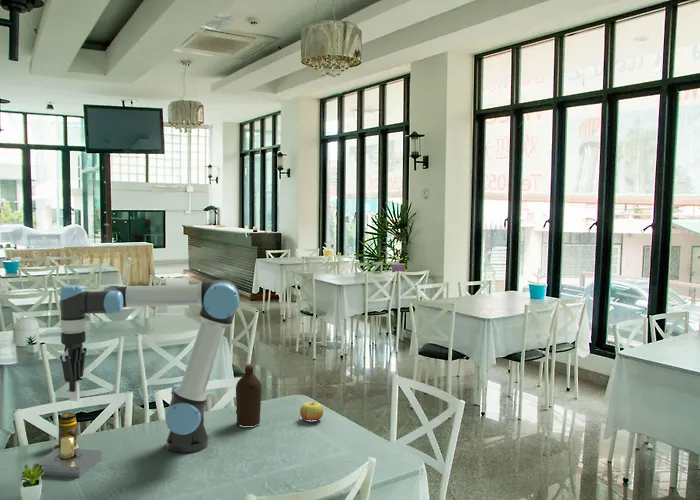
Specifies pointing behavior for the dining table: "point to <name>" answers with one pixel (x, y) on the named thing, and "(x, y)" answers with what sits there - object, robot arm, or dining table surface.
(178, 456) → the dining table surface
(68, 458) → the yellow cylinder
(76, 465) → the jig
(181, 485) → the dining table surface
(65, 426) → the condiment
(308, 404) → the apple
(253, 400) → the olive oil
